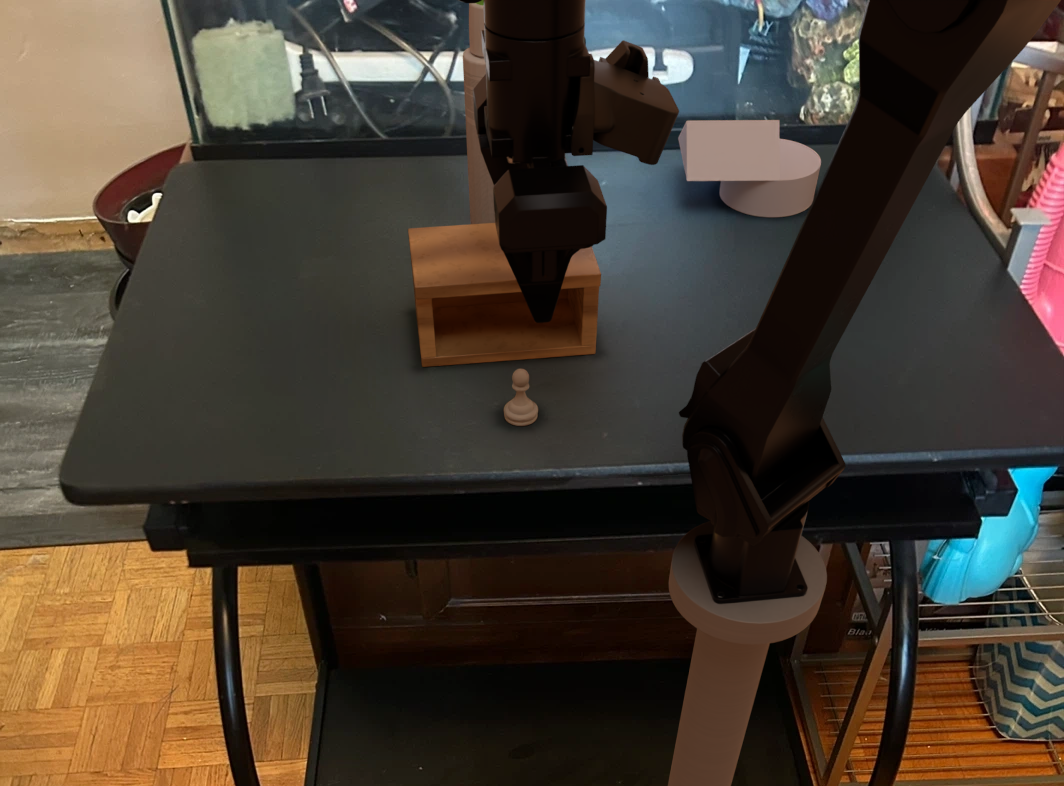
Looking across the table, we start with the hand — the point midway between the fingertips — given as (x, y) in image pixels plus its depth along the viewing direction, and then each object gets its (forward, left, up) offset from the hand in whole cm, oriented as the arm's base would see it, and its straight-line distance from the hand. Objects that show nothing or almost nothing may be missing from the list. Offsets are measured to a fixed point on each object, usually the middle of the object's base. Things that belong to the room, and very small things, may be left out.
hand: (534, 285), depth 70 cm
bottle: (+27, 0, -10) cm, 28 cm away
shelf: (+11, +1, -10) cm, 14 cm away
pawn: (-1, +1, -10) cm, 10 cm away
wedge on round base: (+32, -25, -10) cm, 41 cm away
